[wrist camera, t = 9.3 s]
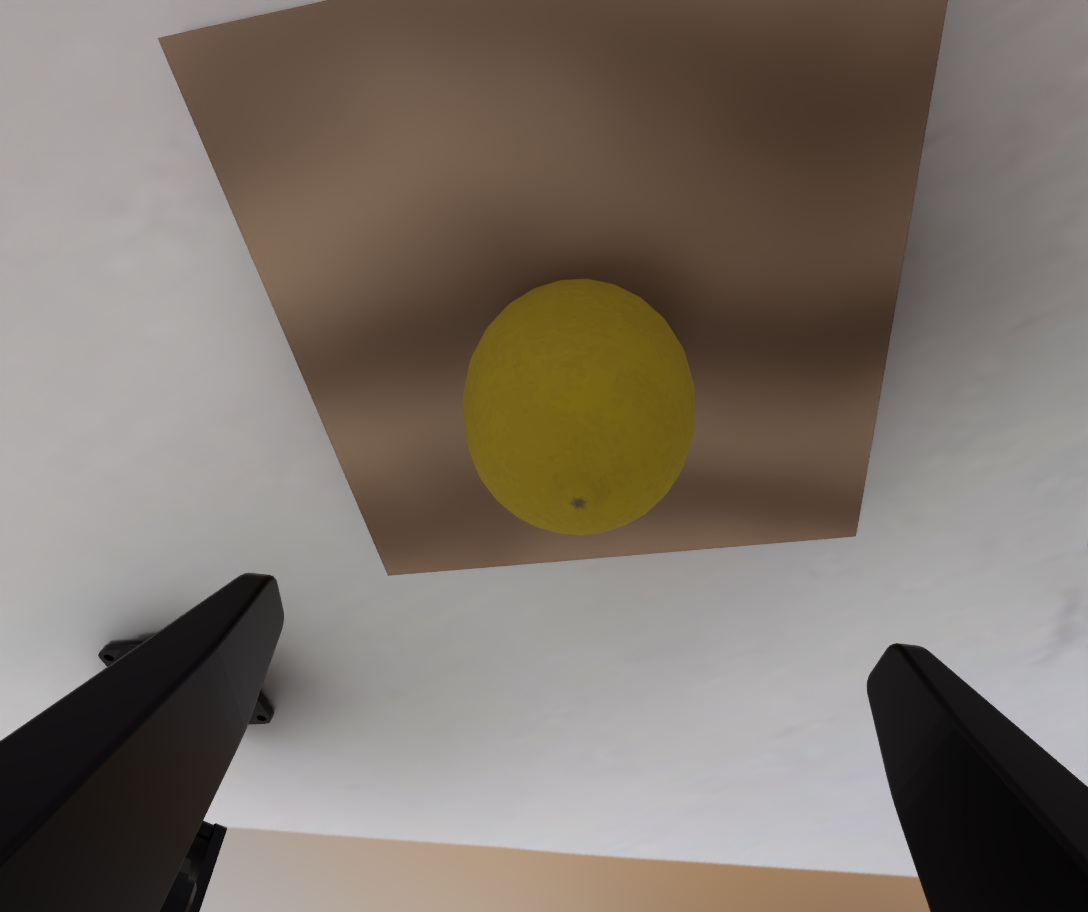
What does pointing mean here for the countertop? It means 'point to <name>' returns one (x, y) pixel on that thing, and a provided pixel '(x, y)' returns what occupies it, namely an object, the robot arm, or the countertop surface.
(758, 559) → the countertop surface
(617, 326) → the lemon
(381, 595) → the countertop surface
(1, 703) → the countertop surface
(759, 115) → the walnut board
